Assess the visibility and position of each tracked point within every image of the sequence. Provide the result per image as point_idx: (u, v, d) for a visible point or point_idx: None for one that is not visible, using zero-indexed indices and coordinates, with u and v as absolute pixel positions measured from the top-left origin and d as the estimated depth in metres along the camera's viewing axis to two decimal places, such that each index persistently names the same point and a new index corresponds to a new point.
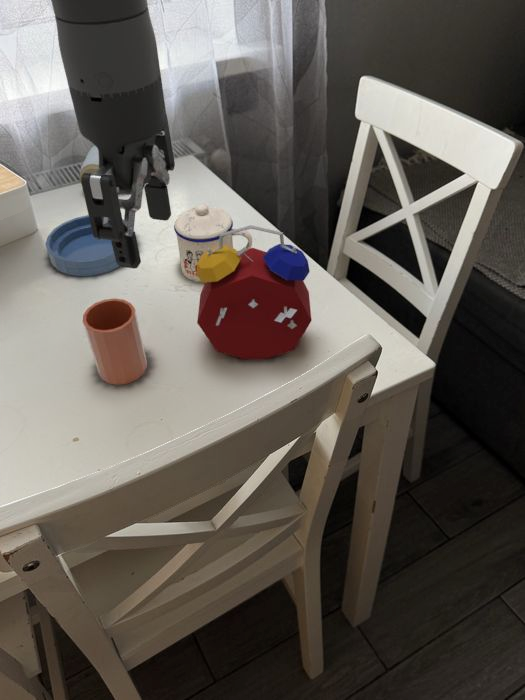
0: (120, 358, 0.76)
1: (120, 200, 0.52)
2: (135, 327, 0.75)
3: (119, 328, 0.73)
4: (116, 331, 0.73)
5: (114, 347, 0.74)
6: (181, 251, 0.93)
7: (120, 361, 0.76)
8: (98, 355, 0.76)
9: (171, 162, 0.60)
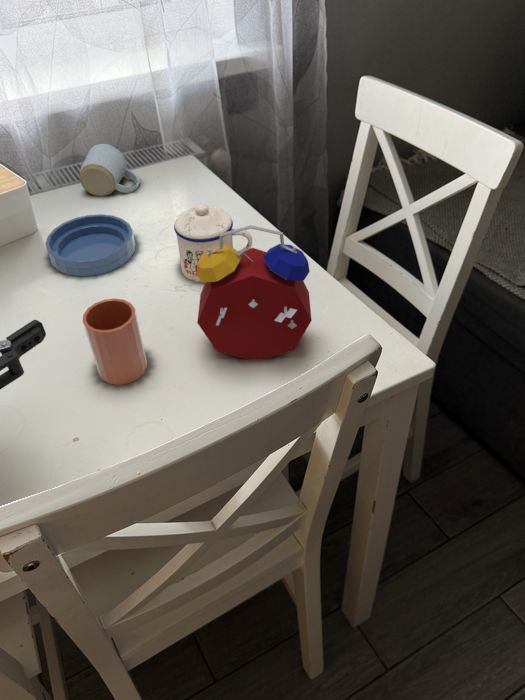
0: (120, 358, 0.76)
1: None
2: (135, 327, 0.75)
3: (119, 328, 0.73)
4: (116, 331, 0.73)
5: (114, 347, 0.74)
6: (181, 251, 0.93)
7: (120, 361, 0.76)
8: (98, 355, 0.76)
9: None
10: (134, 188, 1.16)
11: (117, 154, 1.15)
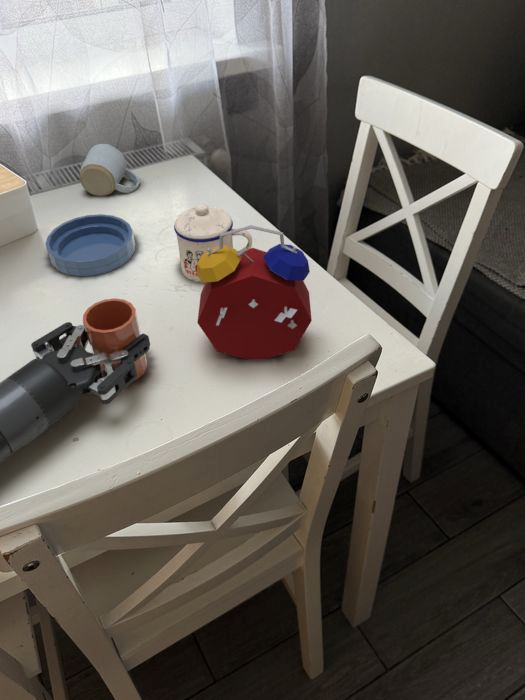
0: None
1: None
2: (135, 327, 0.75)
3: (119, 328, 0.73)
4: (116, 331, 0.73)
5: (114, 346, 0.74)
6: (181, 251, 0.93)
7: None
8: None
9: None
10: (134, 188, 1.16)
11: (117, 154, 1.15)
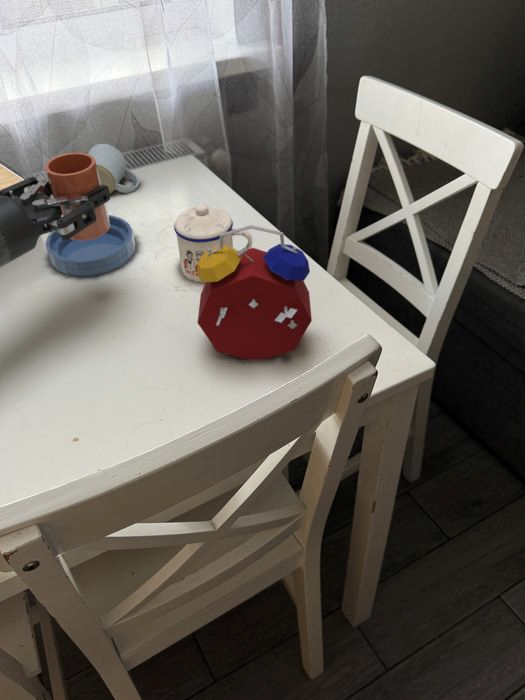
0: None
1: None
2: (95, 176, 0.80)
3: (79, 172, 0.77)
4: (76, 175, 0.77)
5: (74, 192, 0.78)
6: (181, 251, 0.93)
7: None
8: None
9: None
10: (134, 188, 1.16)
11: (117, 154, 1.15)
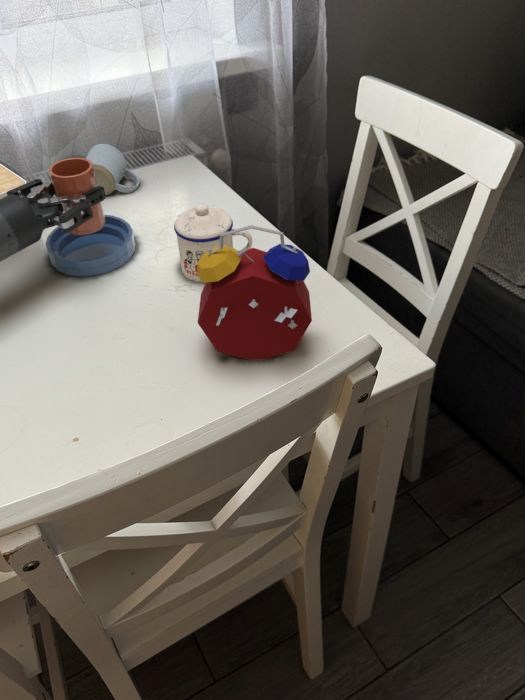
0: None
1: None
2: (92, 178, 0.91)
3: (78, 175, 0.89)
4: (75, 177, 0.89)
5: (74, 192, 0.90)
6: (181, 251, 0.93)
7: None
8: None
9: None
10: (134, 188, 1.16)
11: (117, 154, 1.15)
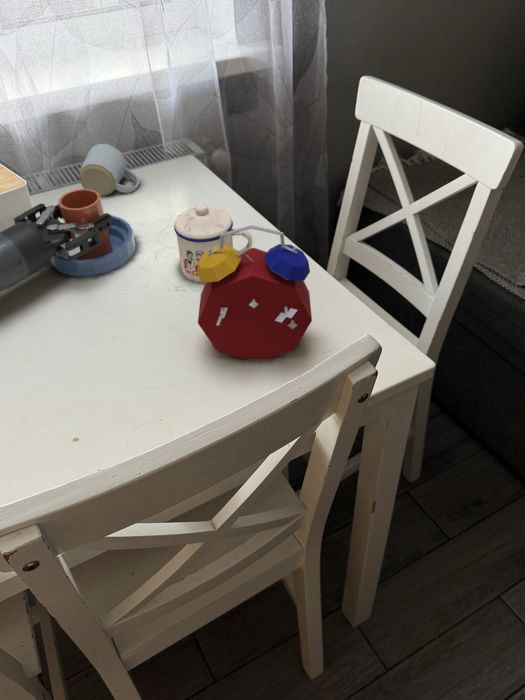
0: None
1: None
2: (100, 209, 0.95)
3: (86, 207, 0.93)
4: (84, 209, 0.93)
5: (83, 223, 0.94)
6: (181, 251, 0.93)
7: None
8: (71, 232, 0.96)
9: None
10: (134, 188, 1.16)
11: (117, 154, 1.15)
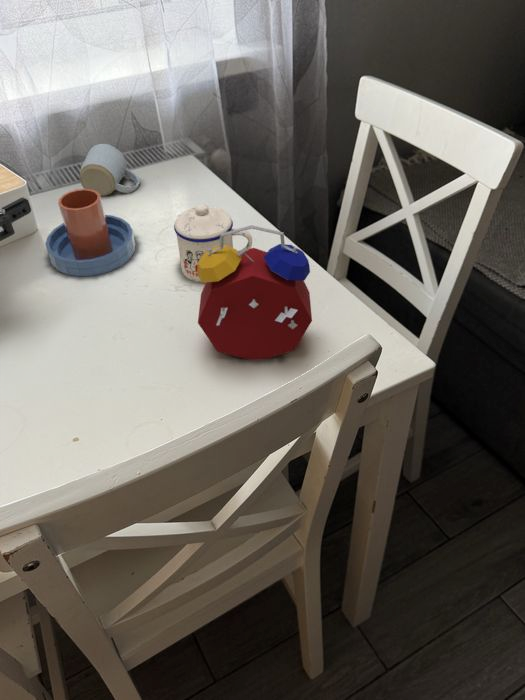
0: (88, 234, 0.96)
1: None
2: (100, 209, 0.95)
3: (86, 207, 0.93)
4: (84, 209, 0.93)
5: (83, 223, 0.94)
6: (181, 251, 0.93)
7: (88, 237, 0.96)
8: (71, 232, 0.96)
9: None
10: (134, 188, 1.16)
11: (117, 154, 1.15)
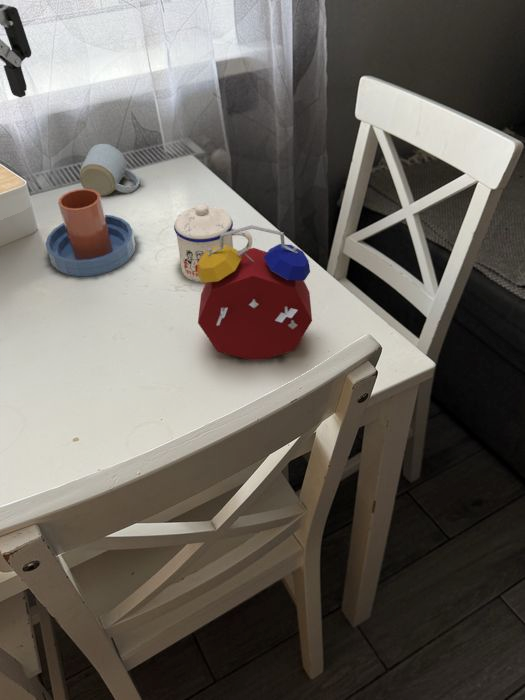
0: (88, 234, 0.96)
1: None
2: (100, 209, 0.95)
3: (86, 207, 0.93)
4: (84, 209, 0.93)
5: (83, 223, 0.94)
6: (181, 251, 0.93)
7: (88, 237, 0.96)
8: (71, 232, 0.96)
9: (25, 50, 0.77)
10: (134, 188, 1.16)
11: (117, 154, 1.15)
